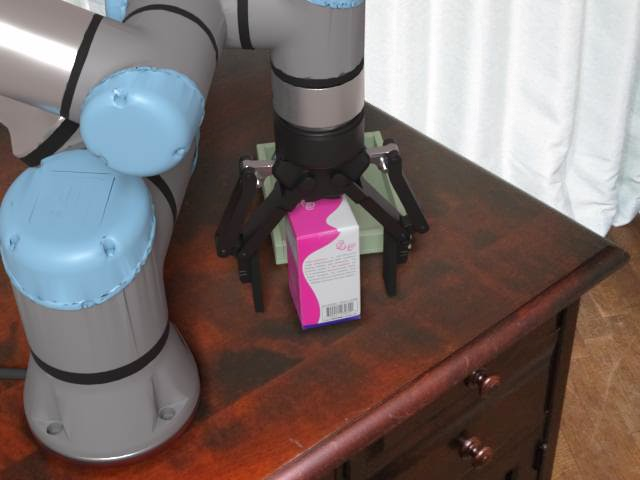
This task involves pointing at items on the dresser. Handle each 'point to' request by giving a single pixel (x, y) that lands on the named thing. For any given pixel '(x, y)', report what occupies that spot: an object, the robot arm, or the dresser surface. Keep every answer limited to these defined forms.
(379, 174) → the tray
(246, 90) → the dresser surface
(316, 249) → the supplement box
